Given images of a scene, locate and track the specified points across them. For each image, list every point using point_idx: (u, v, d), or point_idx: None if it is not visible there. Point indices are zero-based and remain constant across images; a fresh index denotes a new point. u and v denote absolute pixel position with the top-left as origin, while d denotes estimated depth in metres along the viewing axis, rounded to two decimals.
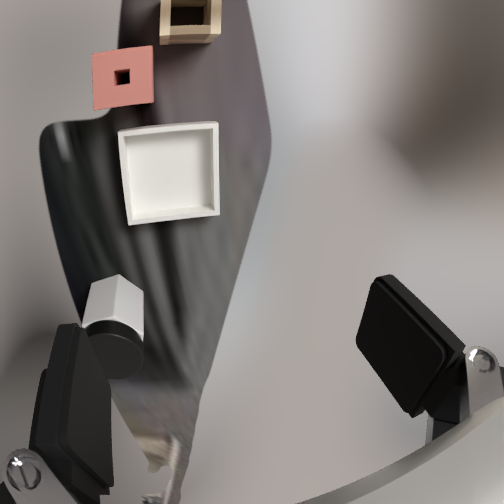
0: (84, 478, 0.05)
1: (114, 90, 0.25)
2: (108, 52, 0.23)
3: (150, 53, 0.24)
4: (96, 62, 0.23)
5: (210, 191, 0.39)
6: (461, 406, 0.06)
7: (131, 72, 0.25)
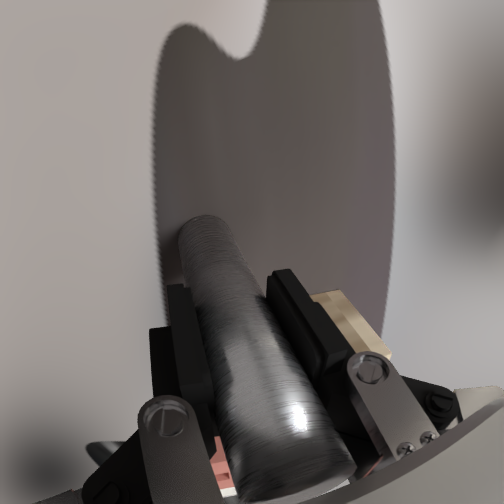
0: None
1: None
2: None
3: None
4: None
5: None
6: (369, 431, 0.05)
7: None
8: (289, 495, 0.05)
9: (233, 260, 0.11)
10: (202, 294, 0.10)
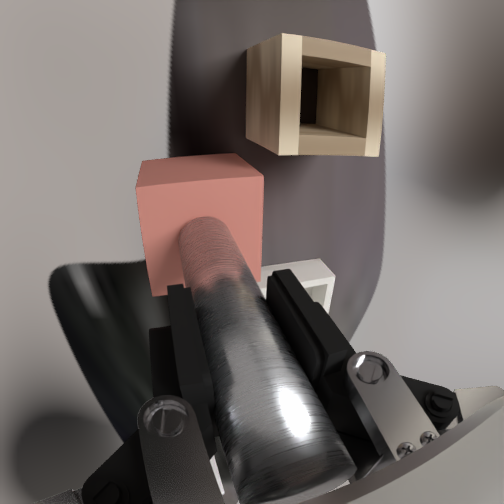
0: None
1: None
2: (171, 185, 0.14)
3: (260, 193, 0.15)
4: (147, 207, 0.14)
5: None
6: (369, 431, 0.05)
7: None
8: (289, 496, 0.05)
9: (233, 262, 0.11)
10: (202, 296, 0.10)
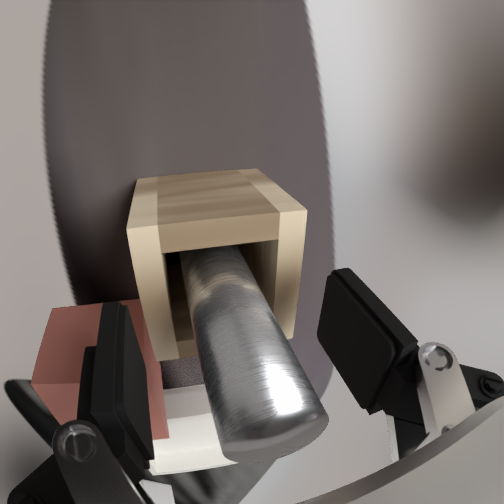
0: (133, 448, 0.06)
1: None
2: (59, 385, 0.11)
3: None
4: (46, 397, 0.11)
5: None
6: (423, 410, 0.06)
7: None
8: (266, 442, 0.06)
9: None
10: (194, 269, 0.11)
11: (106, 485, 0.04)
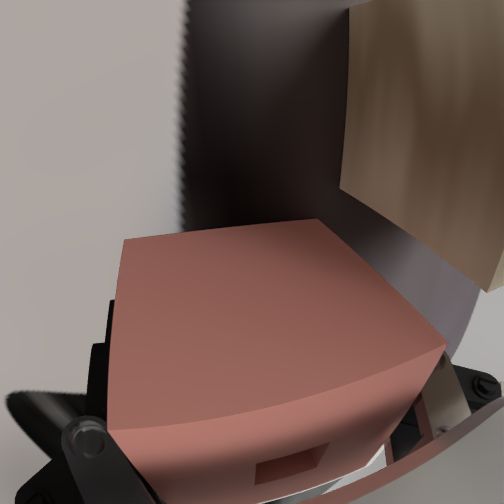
0: None
1: (255, 491, 0.06)
2: (221, 421, 0.04)
3: (427, 374, 0.05)
4: (152, 457, 0.04)
5: None
6: (417, 412, 0.06)
7: (332, 447, 0.06)
8: None
9: None
10: None
11: (115, 482, 0.04)
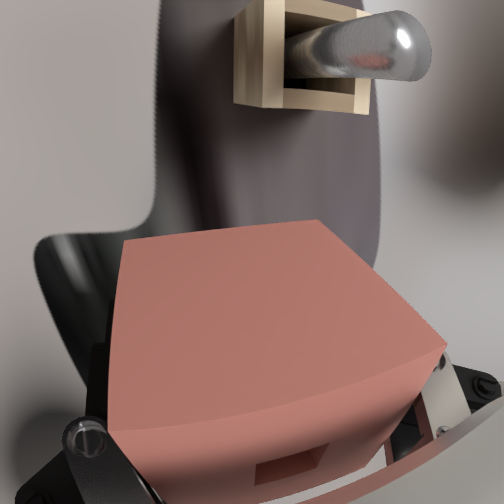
0: None
1: (255, 491, 0.06)
2: (221, 422, 0.04)
3: (426, 375, 0.05)
4: (152, 457, 0.04)
5: None
6: (417, 412, 0.06)
7: (332, 448, 0.06)
8: (400, 43, 0.07)
9: None
10: (302, 34, 0.12)
11: (115, 482, 0.04)
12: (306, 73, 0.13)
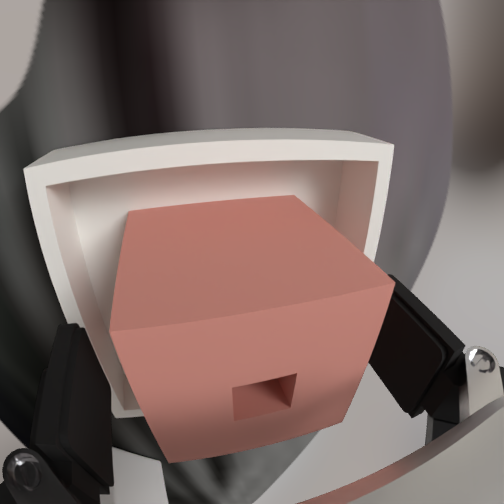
0: (84, 478, 0.05)
1: (235, 429, 0.08)
2: (198, 325, 0.05)
3: (381, 313, 0.07)
4: (143, 366, 0.06)
5: None
6: (461, 406, 0.06)
7: (301, 382, 0.07)
8: None
9: None
10: None
11: None
12: None
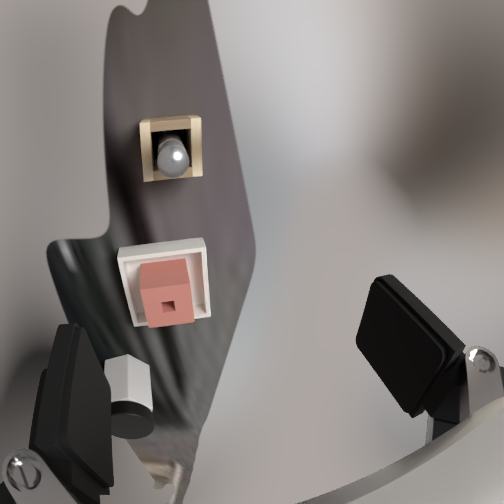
0: (84, 478, 0.05)
1: (163, 315, 0.37)
2: (153, 288, 0.35)
3: (189, 289, 0.36)
4: (144, 296, 0.35)
5: (202, 295, 0.45)
6: (461, 406, 0.06)
7: (175, 303, 0.37)
8: (170, 162, 0.24)
9: (174, 135, 0.30)
10: (161, 140, 0.29)
11: None
12: None
